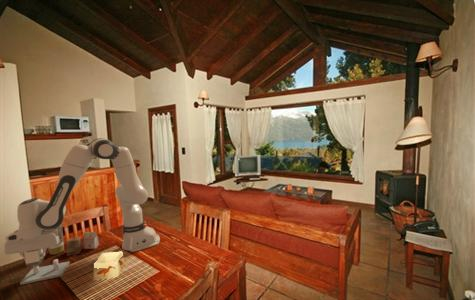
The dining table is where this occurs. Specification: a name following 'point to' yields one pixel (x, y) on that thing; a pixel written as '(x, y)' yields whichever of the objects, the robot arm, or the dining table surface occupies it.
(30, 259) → the sleeve
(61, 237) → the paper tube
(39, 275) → the pinboard
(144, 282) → the dining table surface
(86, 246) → the grey box
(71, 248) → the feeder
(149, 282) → the dining table surface
